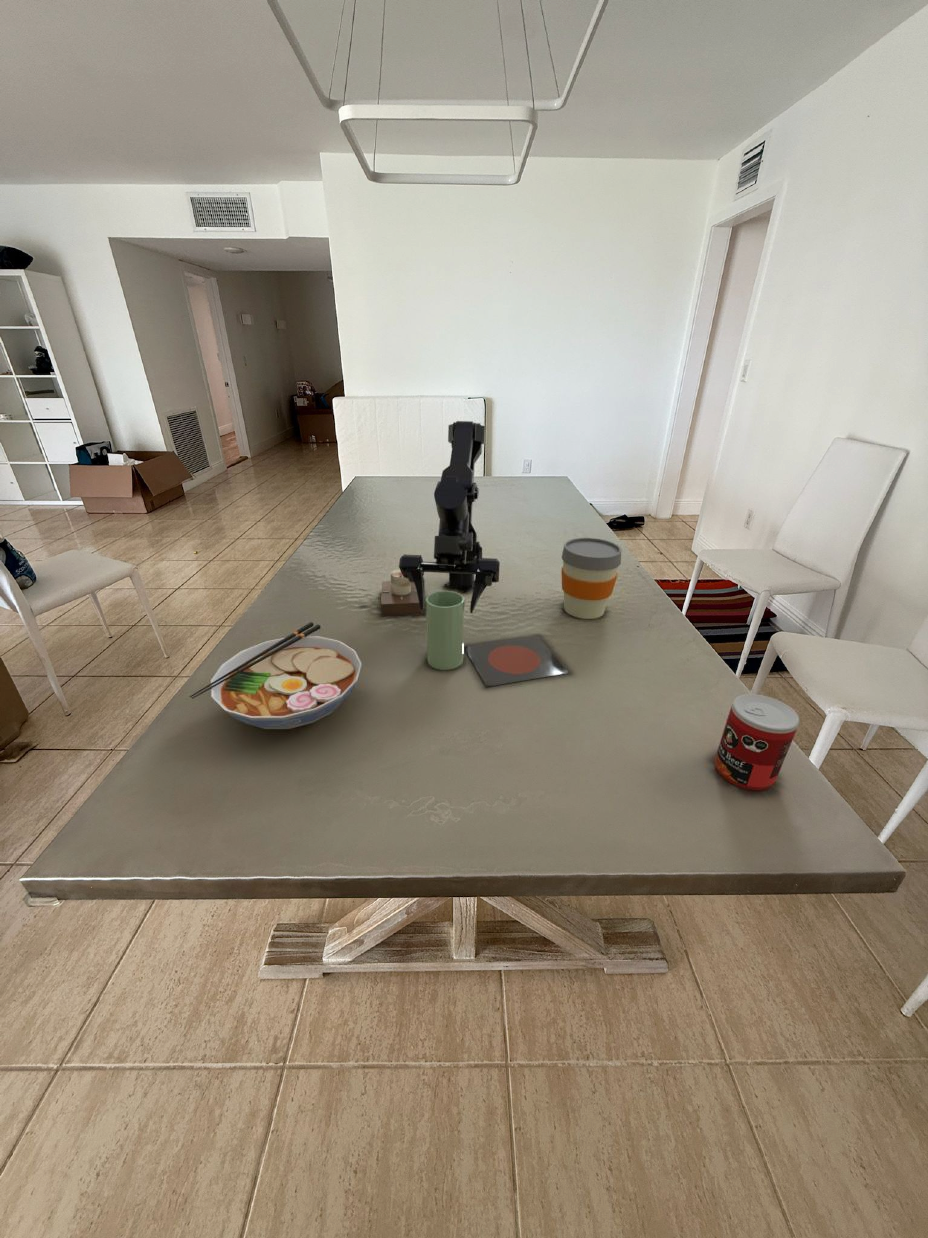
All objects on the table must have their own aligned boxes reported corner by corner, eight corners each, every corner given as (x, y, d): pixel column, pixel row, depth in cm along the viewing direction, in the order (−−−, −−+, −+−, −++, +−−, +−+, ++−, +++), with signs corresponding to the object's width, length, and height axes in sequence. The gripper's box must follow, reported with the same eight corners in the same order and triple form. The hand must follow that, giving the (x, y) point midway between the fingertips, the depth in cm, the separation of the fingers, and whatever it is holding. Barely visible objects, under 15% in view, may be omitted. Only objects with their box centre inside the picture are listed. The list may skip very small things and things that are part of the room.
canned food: (703, 754, 77) (722, 694, 72) (754, 751, 78) (776, 692, 73) (731, 794, 71) (753, 731, 65) (786, 790, 71) (813, 728, 66)
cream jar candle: (391, 587, 120) (390, 568, 118) (410, 586, 121) (410, 567, 118) (391, 595, 116) (390, 576, 114) (411, 595, 117) (410, 575, 114)
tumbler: (441, 647, 103) (440, 587, 97) (469, 657, 100) (471, 596, 94) (420, 662, 98) (418, 601, 92) (449, 674, 95) (449, 611, 89)
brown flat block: (382, 592, 125) (381, 580, 123) (420, 591, 126) (419, 579, 124) (381, 616, 114) (380, 603, 113) (422, 614, 115) (422, 601, 114)
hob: (463, 647, 103) (463, 646, 103) (537, 636, 107) (537, 635, 107) (486, 687, 91) (486, 686, 91) (568, 673, 96) (568, 672, 96)
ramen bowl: (282, 785, 71) (272, 739, 67) (182, 726, 81) (168, 683, 78) (397, 693, 90) (394, 653, 86) (303, 654, 100) (297, 617, 96)
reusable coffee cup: (614, 602, 122) (624, 541, 114) (609, 626, 111) (620, 561, 104) (561, 594, 125) (567, 534, 118) (551, 617, 115) (558, 553, 108)
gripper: (398, 512, 94) (388, 594, 89) (501, 516, 93) (497, 599, 88) (408, 539, 105) (399, 613, 100) (500, 543, 103) (496, 618, 99)
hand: (446, 611), depth 96 cm, fingers open, 9 cm apart
